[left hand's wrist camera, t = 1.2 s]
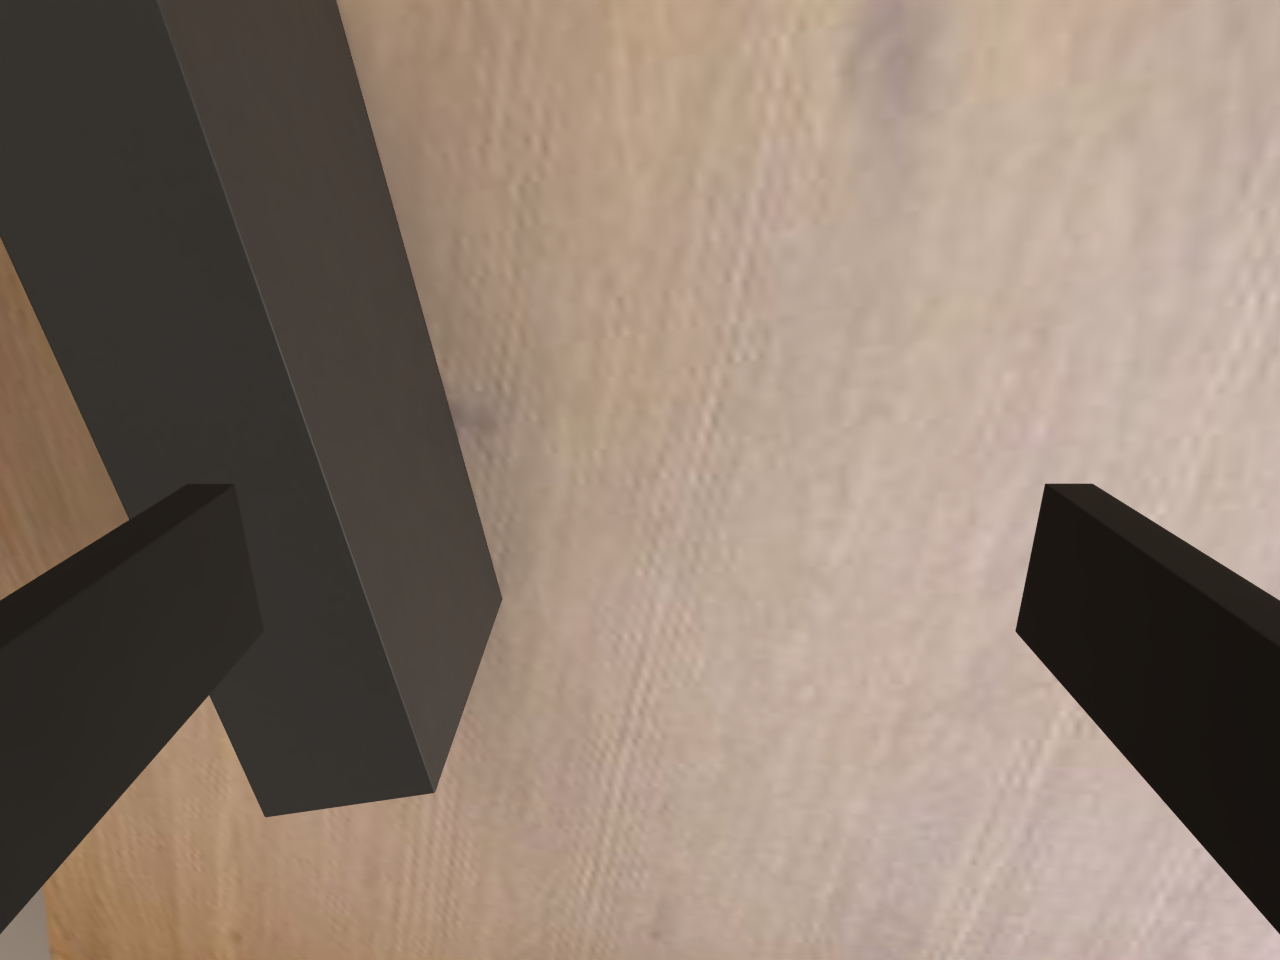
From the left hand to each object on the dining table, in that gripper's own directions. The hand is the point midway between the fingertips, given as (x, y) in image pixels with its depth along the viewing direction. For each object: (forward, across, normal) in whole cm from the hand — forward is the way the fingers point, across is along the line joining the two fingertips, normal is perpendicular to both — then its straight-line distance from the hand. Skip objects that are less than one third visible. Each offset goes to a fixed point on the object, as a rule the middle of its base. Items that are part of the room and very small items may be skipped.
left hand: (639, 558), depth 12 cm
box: (+21, -12, 0) cm, 24 cm away
